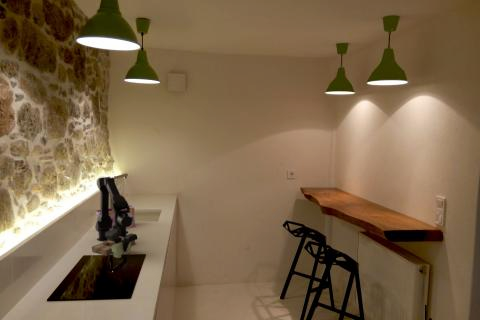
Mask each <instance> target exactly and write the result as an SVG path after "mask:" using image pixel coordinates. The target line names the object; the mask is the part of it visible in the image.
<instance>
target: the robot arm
mask: <svg viewBox="0 0 480 320" xmlns="http://www.w3.org/2000/svg"><path fill="white" fill-rule="evenodd" d="M96 186H97V188H98V191H100V209H99V210H100V215H99V216H98V218H97V217H96V222H95V225H94V228H95V231H97V232H98V238H96V240H97V241H100V242H105V241H108V240H111V241H114V242H115V244H117V243H119V242H122V243H123V250H124V252H126V250H127V248H128V245H129V243H130V242H132V241H134V240H135V241H137V240H138V234H136V233H133V232H131V233H129V231H128V230H127V228H126V227H129V226H130V225H131V224H132V218H131V217H129V216H128V214H127V213H130V207H129V206H130V205H129V202H128V201H127V200H126V197H124V195H121V194H120V191H119V188H118V187H117V184H116V182H115V178H114V177H111V176H104V177H102V176H101V177H98V178H97V179H96ZM110 198H111V204H110ZM110 207H111V208H112V210H113V213H114V219H115V225H113V229H112V224H113V221H112V219H111V217H110V216H109V209H110ZM125 209H127V210H125ZM121 210H122V211H121ZM109 229H112V230H109ZM122 238H124V239H123V240H122Z"/></svg>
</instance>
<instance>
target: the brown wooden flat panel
mask: <svg viewBox="0 0 480 320" xmlns="http://www.w3.org/2000/svg"><path fill="white" fill-rule="evenodd" d="M123 239H124V238H122V240H123ZM114 244H115V242H114V241H111V240H106V241H102V242H100V243H97V244H95V245H92V246H91V253H95V254H98V255H102V256H106V257H107V256H110V255H112V254H113V255H114V252H112V245H114ZM134 245H136V240H134V241H132V242H131V247H132V246H134Z"/></svg>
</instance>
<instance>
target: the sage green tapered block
mask: <svg viewBox="0 0 480 320" xmlns="http://www.w3.org/2000/svg"><path fill="white" fill-rule="evenodd" d="M131 248H132V246H131V242H130V243H129V245H128V248H127V250H126V252H124V250H123V243H122V242H119V243H117V244H114V245H112V252H114V253H113V257H114V258H116V259H117V258H118V259H120V258H121V257H122V254H125V253H126V255H129V254H130V253H131ZM128 253H129V254H128Z"/></svg>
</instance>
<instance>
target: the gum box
mask: <svg viewBox="0 0 480 320" xmlns="http://www.w3.org/2000/svg"><path fill="white" fill-rule="evenodd" d="M129 207H130V213H127V214H128V216H129V217H131V218H132V224H131V225H130V226H129V227H126V229H131V228H135V227H136V223H135V207H134V206H133V205H129ZM125 210H127V209H125ZM121 211H122V210H121ZM99 215H100V209H97V210H96V219H97V218H98V216H99ZM109 216H110V217H111V219H112V221H113V224H112V229H113V225H115V219H114V213H113V210H112V208H110V207H109ZM112 229H109V230H112Z"/></svg>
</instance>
